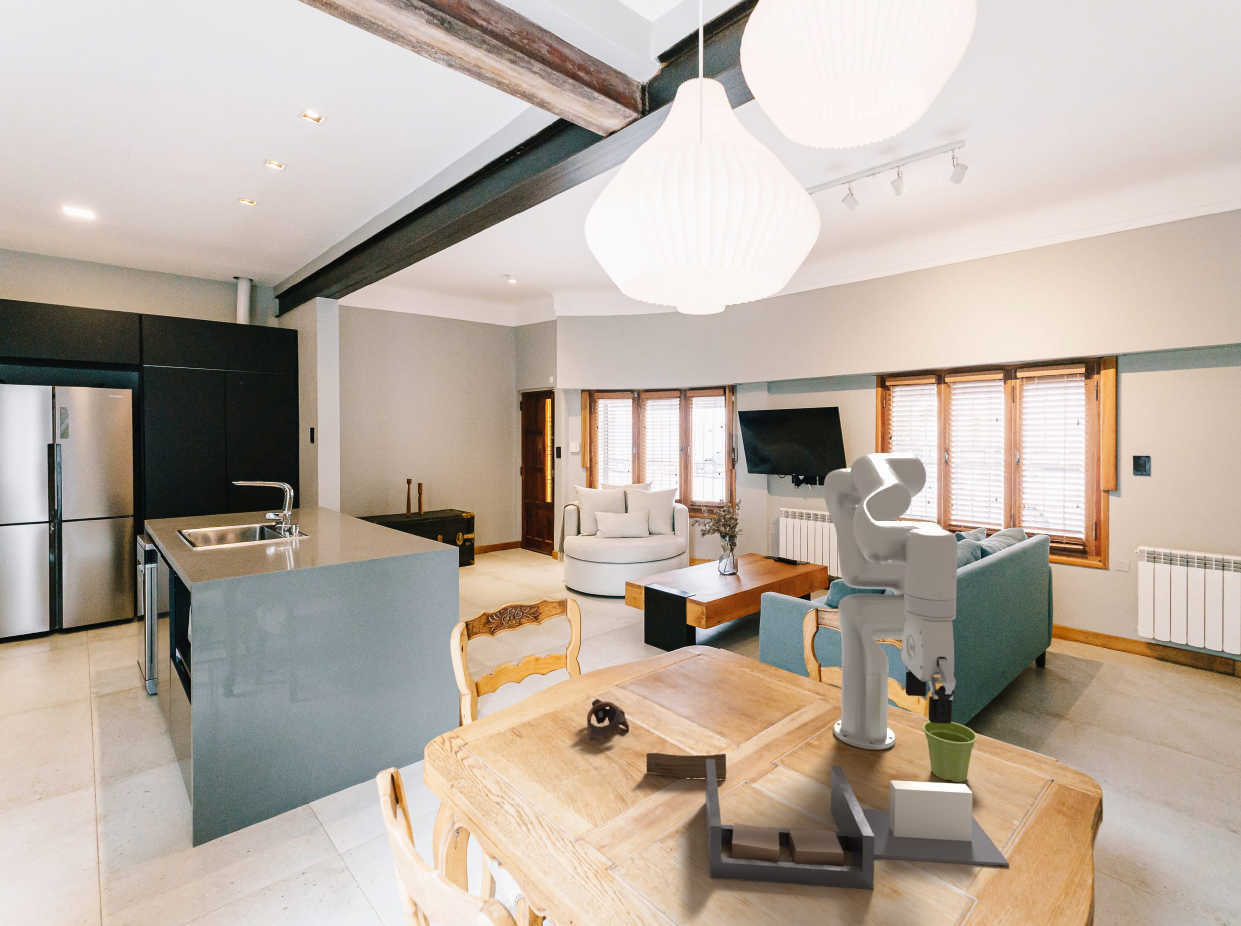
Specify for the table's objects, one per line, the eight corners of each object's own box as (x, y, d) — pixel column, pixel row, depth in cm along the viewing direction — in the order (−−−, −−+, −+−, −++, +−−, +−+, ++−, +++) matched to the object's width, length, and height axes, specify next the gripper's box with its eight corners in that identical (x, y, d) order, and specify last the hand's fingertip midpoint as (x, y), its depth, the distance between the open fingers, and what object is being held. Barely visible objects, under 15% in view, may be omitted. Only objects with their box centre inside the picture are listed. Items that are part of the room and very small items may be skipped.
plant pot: (911, 766, 121) (911, 724, 121) (946, 758, 125) (946, 716, 124) (951, 792, 113) (952, 746, 112) (987, 782, 116) (988, 737, 116)
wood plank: (725, 776, 118) (725, 751, 118) (726, 782, 116) (726, 756, 116) (646, 773, 119) (646, 748, 119) (646, 779, 117) (646, 754, 117)
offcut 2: (789, 853, 96) (789, 829, 96) (834, 856, 96) (834, 831, 96) (795, 876, 91) (796, 850, 91) (843, 878, 91) (843, 852, 91)
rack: (705, 802, 110) (705, 759, 109) (839, 810, 107) (840, 765, 107) (710, 877, 91) (710, 825, 90) (873, 889, 88) (874, 836, 88)
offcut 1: (733, 847, 98) (733, 823, 98) (778, 854, 96) (778, 829, 96) (731, 868, 93) (732, 843, 93) (779, 876, 91) (779, 850, 91)
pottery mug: (640, 738, 134) (630, 714, 130) (605, 765, 131) (594, 741, 127) (612, 705, 144) (603, 681, 140) (579, 729, 141) (568, 706, 137)
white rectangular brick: (889, 826, 102) (890, 780, 102) (964, 831, 101) (965, 784, 100) (894, 836, 99) (895, 788, 99) (971, 841, 98) (972, 793, 98)
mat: (852, 810, 107) (852, 808, 107) (971, 817, 105) (971, 815, 105) (874, 857, 95) (874, 854, 95) (1008, 866, 93) (1008, 863, 93)
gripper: (887, 591, 107) (885, 685, 108) (926, 621, 90) (924, 733, 91) (931, 592, 107) (929, 687, 108) (979, 622, 90) (976, 735, 90)
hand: (927, 708), depth 99 cm, fingers open, 9 cm apart
